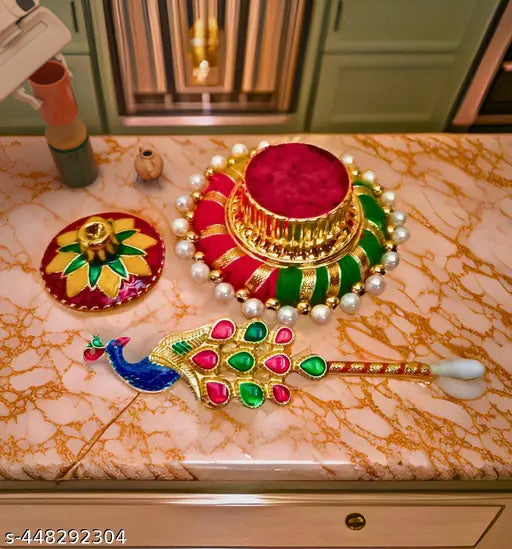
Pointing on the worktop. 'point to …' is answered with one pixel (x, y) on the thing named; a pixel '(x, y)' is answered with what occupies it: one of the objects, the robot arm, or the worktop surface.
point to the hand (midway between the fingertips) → (55, 93)
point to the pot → (148, 165)
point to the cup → (54, 93)
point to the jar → (72, 153)
